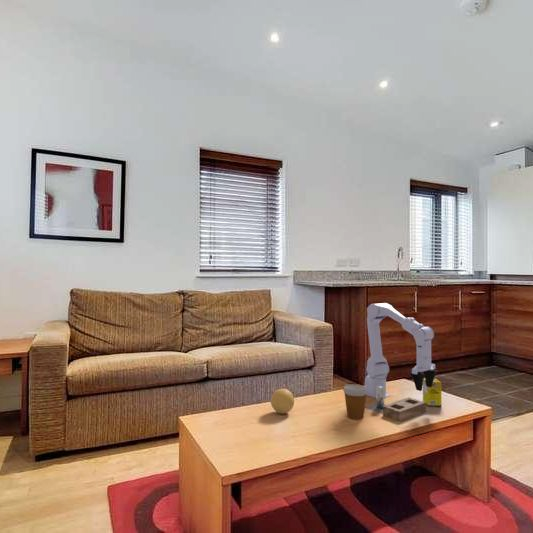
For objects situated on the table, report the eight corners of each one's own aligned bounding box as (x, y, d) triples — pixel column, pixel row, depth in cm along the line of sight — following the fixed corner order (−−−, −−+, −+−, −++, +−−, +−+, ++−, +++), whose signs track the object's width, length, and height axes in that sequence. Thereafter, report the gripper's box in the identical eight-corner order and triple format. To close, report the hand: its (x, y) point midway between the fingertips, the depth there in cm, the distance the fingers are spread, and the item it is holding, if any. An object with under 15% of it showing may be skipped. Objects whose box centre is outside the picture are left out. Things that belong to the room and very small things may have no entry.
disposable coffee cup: (370, 421, 147) (370, 391, 148) (346, 421, 147) (346, 391, 148) (363, 412, 157) (363, 383, 157) (341, 412, 157) (341, 383, 157)
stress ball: (290, 420, 151) (303, 400, 157) (275, 404, 149) (288, 384, 154) (276, 416, 160) (289, 397, 165) (262, 401, 157) (275, 382, 162)
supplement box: (441, 407, 163) (441, 382, 163) (428, 407, 163) (427, 382, 163) (436, 402, 169) (435, 378, 169) (422, 402, 169) (422, 378, 169)
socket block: (383, 415, 153) (383, 406, 153) (408, 406, 164) (408, 397, 164) (400, 422, 147) (400, 411, 147) (425, 411, 157) (425, 402, 157)
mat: (365, 408, 162) (365, 407, 162) (379, 403, 168) (379, 402, 168) (382, 414, 155) (382, 413, 155) (397, 409, 161) (397, 408, 161)
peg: (375, 407, 162) (374, 386, 162) (379, 405, 164) (379, 385, 164) (380, 409, 160) (380, 388, 160) (385, 407, 161) (385, 387, 161)
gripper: (423, 360, 149) (423, 394, 149) (442, 355, 158) (442, 387, 158) (407, 357, 155) (407, 389, 155) (426, 352, 164) (426, 383, 164)
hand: (424, 388), depth 157 cm, fingers open, 7 cm apart
